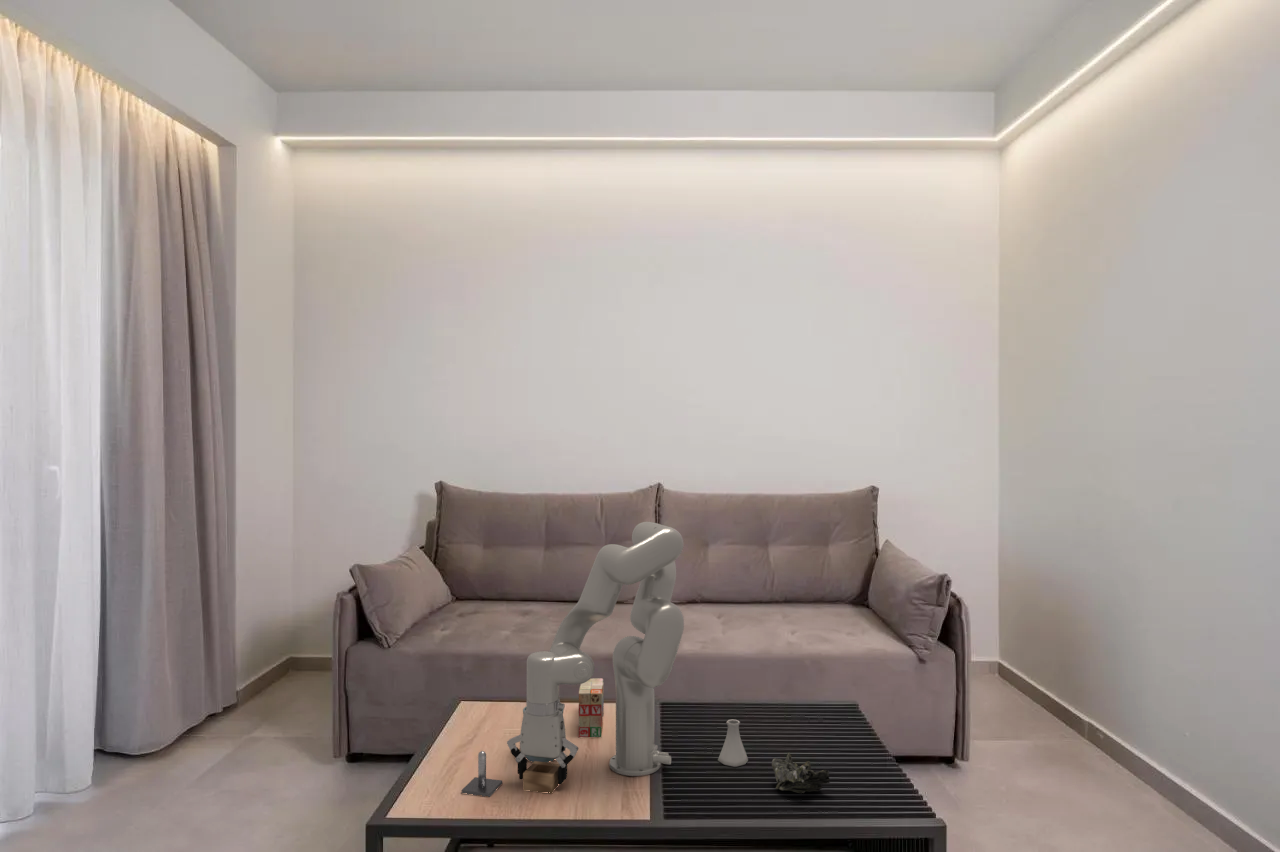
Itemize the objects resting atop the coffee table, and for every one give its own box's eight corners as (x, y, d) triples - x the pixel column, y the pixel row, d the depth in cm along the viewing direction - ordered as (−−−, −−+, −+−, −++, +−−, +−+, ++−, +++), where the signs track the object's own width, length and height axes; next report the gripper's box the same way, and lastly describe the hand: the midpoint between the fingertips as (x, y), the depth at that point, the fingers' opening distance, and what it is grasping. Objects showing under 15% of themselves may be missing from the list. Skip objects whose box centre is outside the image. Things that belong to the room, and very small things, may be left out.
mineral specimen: (845, 772, 191) (819, 736, 192) (809, 812, 185) (782, 774, 186) (810, 770, 204) (786, 735, 205) (776, 807, 198) (751, 771, 199)
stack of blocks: (582, 709, 246) (582, 668, 246) (603, 709, 246) (604, 668, 246) (578, 738, 225) (578, 692, 224) (601, 738, 225) (601, 692, 225)
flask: (753, 761, 210) (753, 721, 210) (736, 770, 205) (736, 729, 205) (730, 753, 215) (730, 714, 215) (712, 761, 210) (712, 721, 210)
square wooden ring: (562, 780, 198) (562, 764, 198) (551, 794, 192) (551, 776, 192) (534, 777, 200) (534, 761, 200) (523, 790, 193) (523, 773, 193)
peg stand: (502, 783, 197) (502, 746, 197) (489, 797, 190) (489, 758, 190) (474, 780, 199) (474, 743, 198) (461, 793, 192) (461, 755, 192)
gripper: (583, 704, 197) (582, 777, 197) (514, 697, 201) (514, 768, 202) (572, 715, 190) (572, 791, 190) (501, 708, 194) (501, 782, 194)
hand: (542, 779), depth 196 cm, fingers open, 9 cm apart
